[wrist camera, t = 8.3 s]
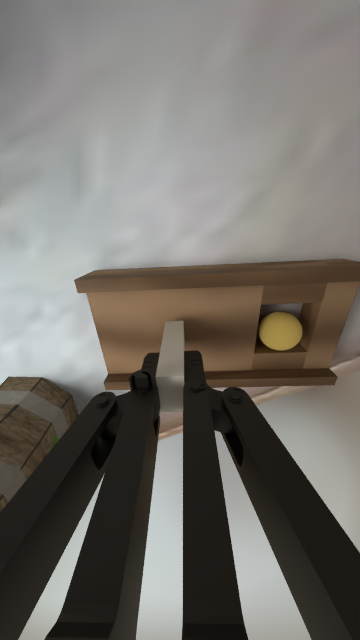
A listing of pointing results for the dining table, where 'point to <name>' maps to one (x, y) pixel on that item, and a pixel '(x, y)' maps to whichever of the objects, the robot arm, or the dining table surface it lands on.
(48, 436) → the mug
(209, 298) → the lane board
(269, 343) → the ball
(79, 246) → the dining table surface
